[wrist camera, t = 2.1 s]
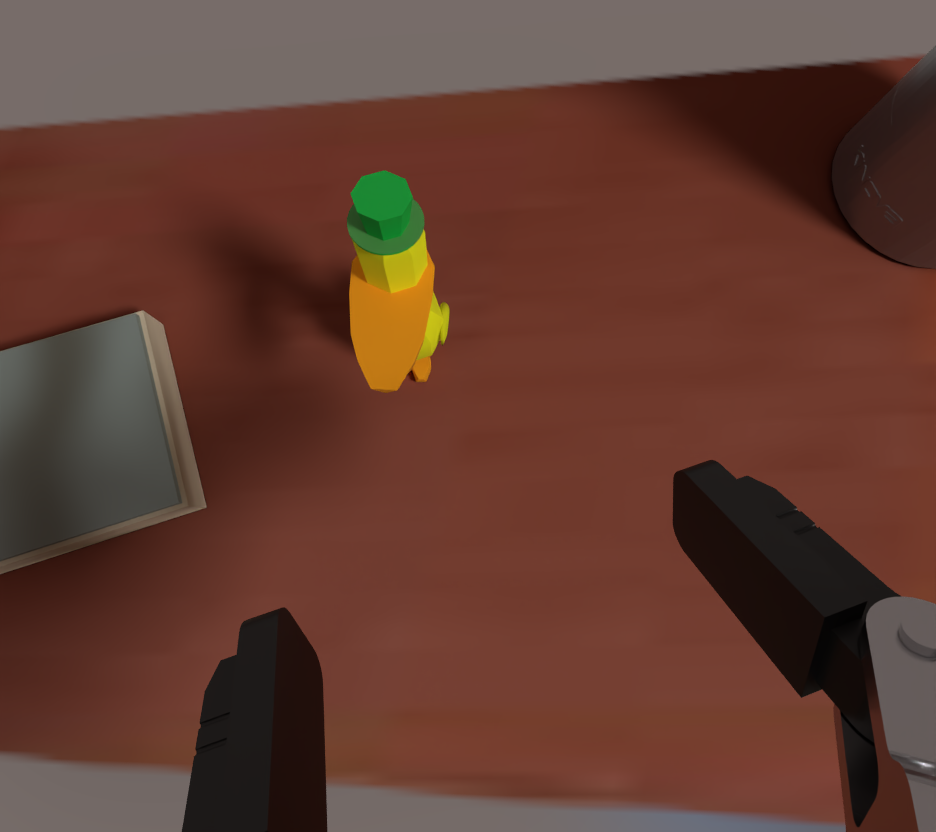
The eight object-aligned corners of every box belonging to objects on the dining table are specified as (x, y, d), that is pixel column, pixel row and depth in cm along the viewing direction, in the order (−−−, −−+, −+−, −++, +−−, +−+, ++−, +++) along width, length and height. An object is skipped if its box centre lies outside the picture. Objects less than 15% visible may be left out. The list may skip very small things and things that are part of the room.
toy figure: (443, 437, 25) (438, 356, 13) (366, 433, 25) (290, 348, 13) (451, 300, 26) (453, 115, 14) (378, 296, 26) (319, 106, 14)
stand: (163, 324, 25) (139, 307, 23) (206, 507, 24) (184, 505, 22) (-34, 381, 25) (-76, 368, 23) (-3, 575, 23) (-45, 579, 21)
